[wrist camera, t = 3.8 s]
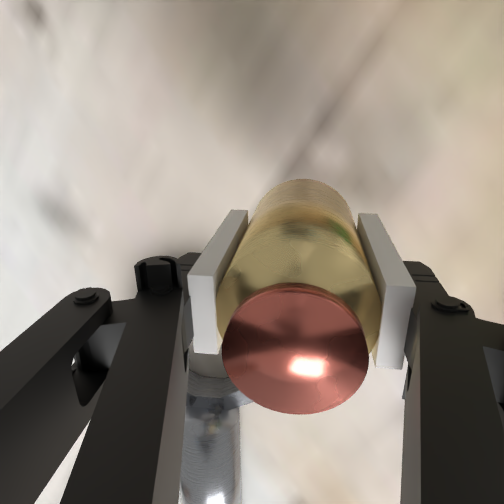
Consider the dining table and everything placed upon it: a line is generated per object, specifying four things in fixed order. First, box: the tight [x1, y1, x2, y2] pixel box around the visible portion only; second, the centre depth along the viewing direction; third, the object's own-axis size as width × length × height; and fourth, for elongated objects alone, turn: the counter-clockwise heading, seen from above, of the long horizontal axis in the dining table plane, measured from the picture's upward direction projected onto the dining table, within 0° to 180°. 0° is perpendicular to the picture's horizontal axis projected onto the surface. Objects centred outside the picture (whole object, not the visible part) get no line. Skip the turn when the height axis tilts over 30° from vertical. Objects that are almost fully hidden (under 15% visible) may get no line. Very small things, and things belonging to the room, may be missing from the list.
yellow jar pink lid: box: [216, 179, 382, 414], centre depth 14 cm, size 5×5×10 cm
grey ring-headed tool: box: [180, 370, 254, 504], centre depth 27 cm, size 24×9×5 cm, turn 1°
